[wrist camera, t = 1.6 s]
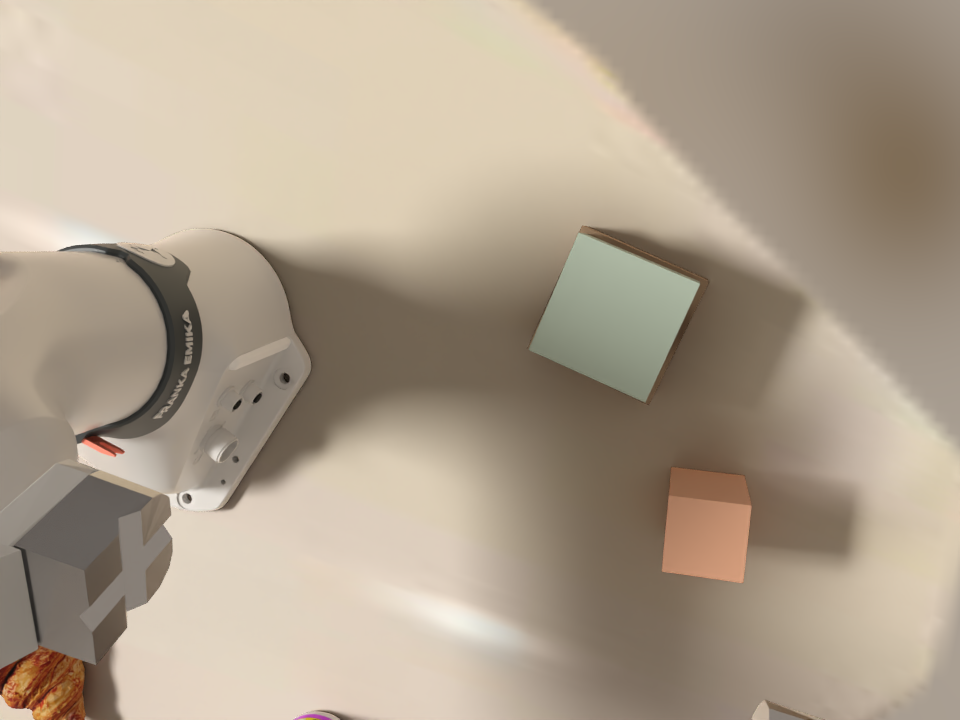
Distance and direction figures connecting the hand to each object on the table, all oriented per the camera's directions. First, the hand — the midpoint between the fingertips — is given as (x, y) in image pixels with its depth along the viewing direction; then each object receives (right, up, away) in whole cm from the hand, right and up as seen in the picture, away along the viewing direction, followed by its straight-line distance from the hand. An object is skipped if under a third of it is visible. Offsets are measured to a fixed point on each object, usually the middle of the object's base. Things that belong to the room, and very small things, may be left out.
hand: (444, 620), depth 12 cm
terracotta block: (+16, -7, +51) cm, 54 cm away
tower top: (+10, +7, +47) cm, 49 cm away
